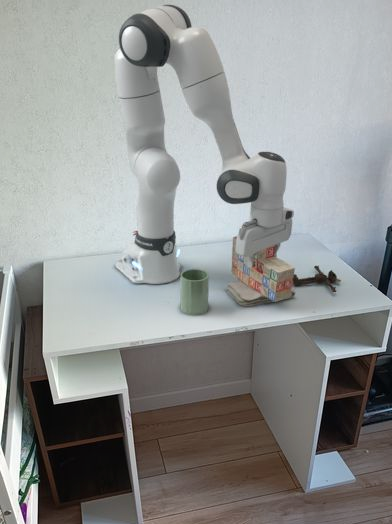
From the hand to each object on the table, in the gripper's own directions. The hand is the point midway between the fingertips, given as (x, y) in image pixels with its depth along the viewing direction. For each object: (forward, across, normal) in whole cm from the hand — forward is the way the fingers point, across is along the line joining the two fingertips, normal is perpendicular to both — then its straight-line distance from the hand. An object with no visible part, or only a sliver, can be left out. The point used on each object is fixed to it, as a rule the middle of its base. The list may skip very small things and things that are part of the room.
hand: (261, 262), depth 146 cm
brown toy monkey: (+11, +19, -7) cm, 23 cm away
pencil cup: (+11, -20, +7) cm, 24 cm away
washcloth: (+11, 0, 0) cm, 11 cm away
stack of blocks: (+8, 0, 0) cm, 8 cm away
